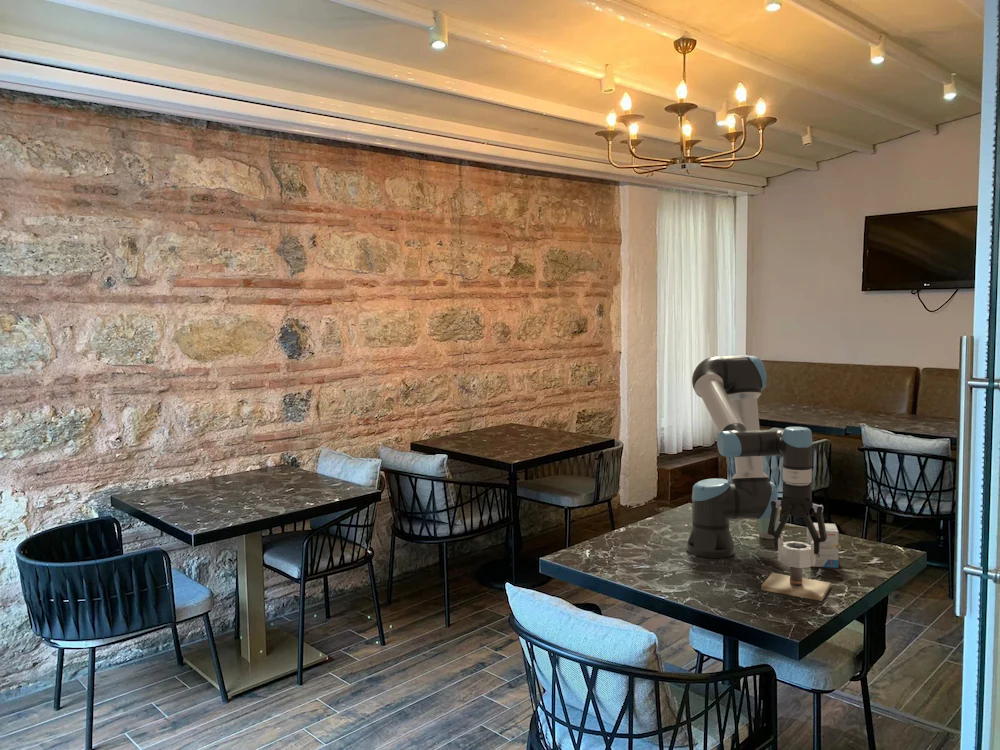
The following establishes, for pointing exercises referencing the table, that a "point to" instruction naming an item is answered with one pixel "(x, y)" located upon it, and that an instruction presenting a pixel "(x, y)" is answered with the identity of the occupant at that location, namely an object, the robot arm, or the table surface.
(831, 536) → the ink box
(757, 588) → the table surface
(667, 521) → the table surface
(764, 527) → the coffee cup
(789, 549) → the ring
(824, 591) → the post block
